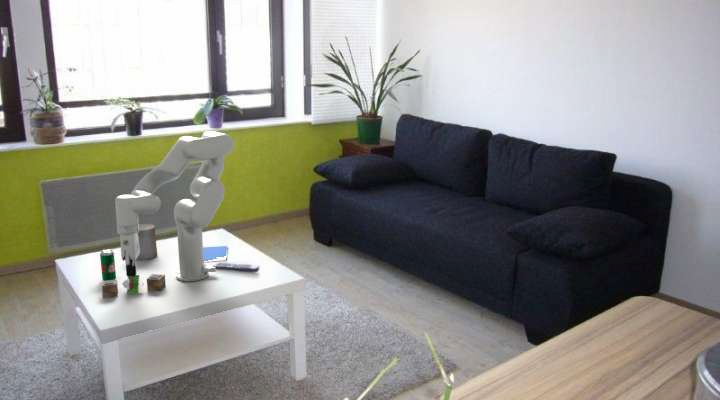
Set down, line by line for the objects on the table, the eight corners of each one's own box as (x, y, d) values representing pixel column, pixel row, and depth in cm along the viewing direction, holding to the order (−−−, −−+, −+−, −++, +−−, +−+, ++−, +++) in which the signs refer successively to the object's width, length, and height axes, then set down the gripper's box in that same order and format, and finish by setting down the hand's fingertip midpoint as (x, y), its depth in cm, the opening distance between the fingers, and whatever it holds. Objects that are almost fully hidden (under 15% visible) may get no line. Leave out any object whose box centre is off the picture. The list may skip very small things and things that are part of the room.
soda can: (111, 282, 250) (108, 253, 247) (99, 281, 251) (97, 252, 248) (118, 278, 255) (116, 249, 252) (107, 277, 256) (104, 248, 253)
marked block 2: (165, 287, 246) (164, 274, 245) (160, 291, 242) (159, 278, 240) (153, 286, 247) (152, 273, 246) (147, 291, 242) (146, 278, 241)
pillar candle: (148, 251, 287) (145, 219, 283) (162, 255, 281) (159, 223, 278) (129, 257, 279) (126, 224, 276) (143, 262, 274) (139, 228, 270)
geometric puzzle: (129, 281, 246) (123, 269, 240) (147, 281, 246) (141, 270, 240) (124, 297, 242) (118, 286, 235) (142, 297, 241) (136, 286, 235)
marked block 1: (117, 292, 241) (116, 278, 240) (117, 297, 237) (116, 283, 236) (103, 293, 240) (102, 280, 239) (102, 298, 235) (101, 285, 234)
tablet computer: (227, 262, 275) (226, 259, 275) (196, 264, 273) (196, 261, 273) (228, 248, 294) (228, 245, 293) (199, 249, 292) (199, 247, 291)
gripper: (134, 234, 229) (138, 282, 233) (142, 222, 243) (145, 268, 247) (112, 234, 228) (116, 283, 232) (121, 223, 242) (125, 269, 246)
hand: (131, 275), depth 239 cm, fingers closed
